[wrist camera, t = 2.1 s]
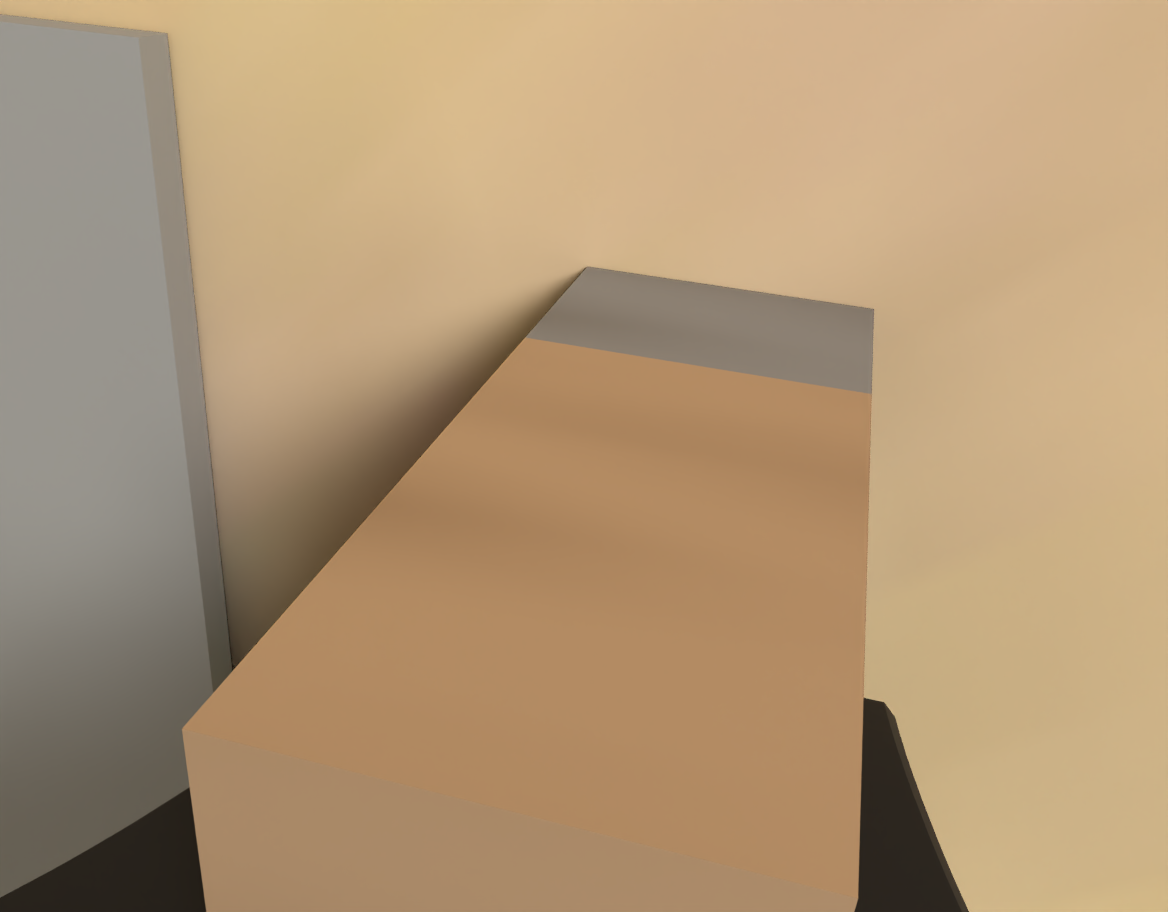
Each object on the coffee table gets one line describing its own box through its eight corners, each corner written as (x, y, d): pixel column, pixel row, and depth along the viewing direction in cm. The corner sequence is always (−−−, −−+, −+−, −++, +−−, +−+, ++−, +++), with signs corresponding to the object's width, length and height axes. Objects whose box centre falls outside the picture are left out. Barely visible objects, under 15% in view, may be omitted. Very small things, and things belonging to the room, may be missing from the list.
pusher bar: (749, 905, 12) (641, 1673, 7) (542, 852, 12) (289, 1534, 7) (874, 310, 9) (861, 900, 3) (587, 267, 9) (181, 728, 4)
